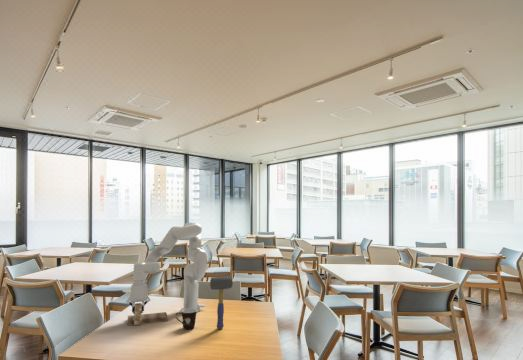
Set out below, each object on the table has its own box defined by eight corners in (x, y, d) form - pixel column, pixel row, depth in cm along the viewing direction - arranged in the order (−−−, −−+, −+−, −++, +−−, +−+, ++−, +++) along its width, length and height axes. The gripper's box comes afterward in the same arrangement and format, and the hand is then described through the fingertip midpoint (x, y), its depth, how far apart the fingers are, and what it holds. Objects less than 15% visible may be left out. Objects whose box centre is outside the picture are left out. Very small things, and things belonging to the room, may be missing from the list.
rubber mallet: (228, 325, 197) (229, 274, 200) (232, 329, 190) (233, 277, 193) (208, 327, 193) (209, 275, 195) (211, 332, 186) (212, 278, 188)
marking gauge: (140, 317, 207) (141, 301, 208) (141, 324, 194) (142, 307, 195) (133, 318, 206) (134, 302, 207) (134, 325, 193) (135, 308, 194)
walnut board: (165, 316, 212) (166, 311, 213) (167, 320, 203) (167, 316, 203) (127, 319, 204) (127, 315, 204) (127, 325, 195) (128, 320, 195)
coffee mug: (199, 327, 193) (199, 309, 194) (190, 331, 186) (190, 313, 186) (183, 324, 198) (184, 307, 199) (173, 328, 190) (174, 310, 191)
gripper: (153, 280, 210) (151, 309, 208) (124, 282, 204) (123, 312, 202) (153, 282, 203) (152, 313, 201) (124, 284, 197) (123, 316, 195)
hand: (137, 312), depth 202 cm, fingers closed on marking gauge, 4 cm apart
